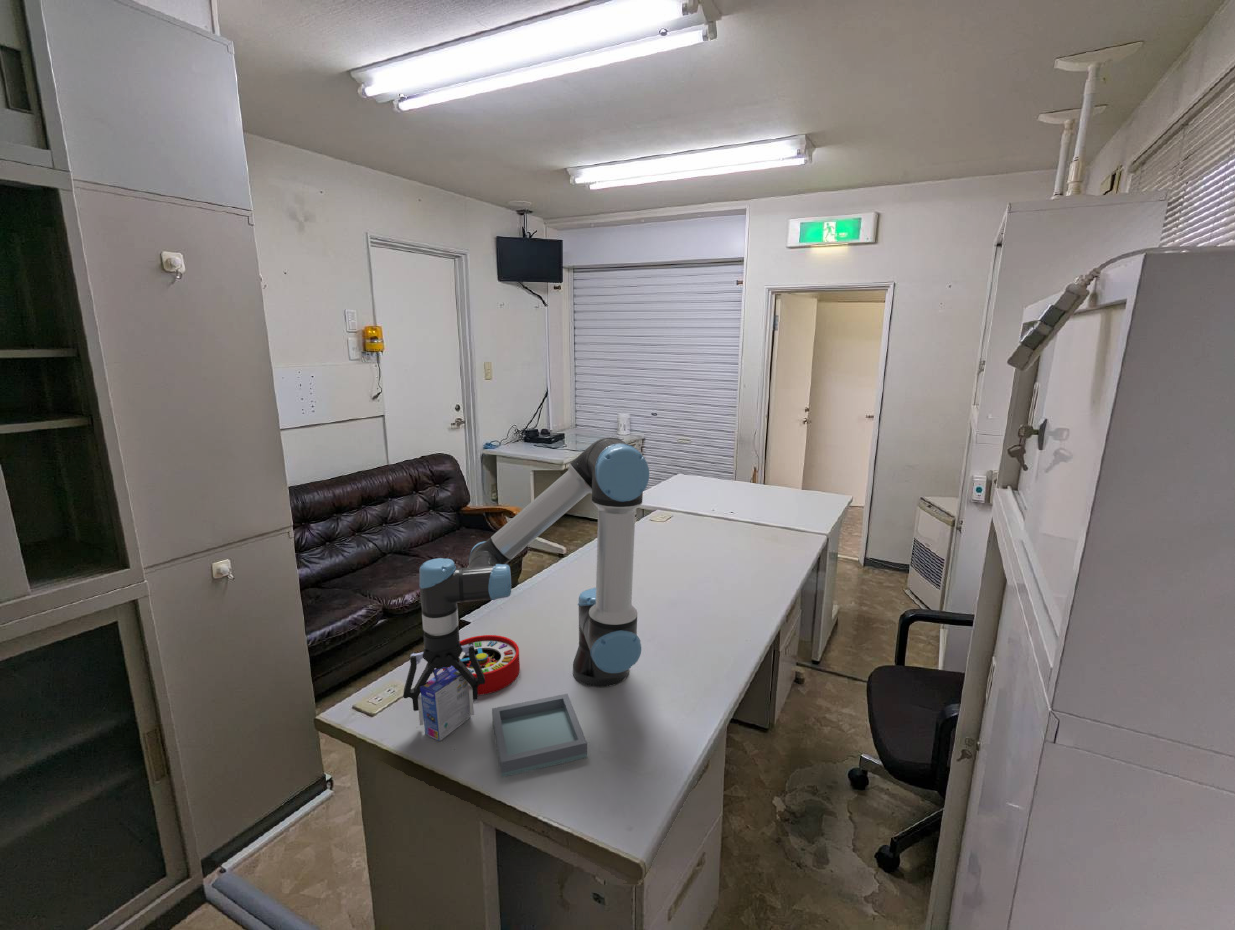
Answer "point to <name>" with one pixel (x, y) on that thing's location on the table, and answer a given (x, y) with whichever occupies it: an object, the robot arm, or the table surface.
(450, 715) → the ink cartridge box
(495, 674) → the toy clock
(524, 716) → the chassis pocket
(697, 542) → the table surface
